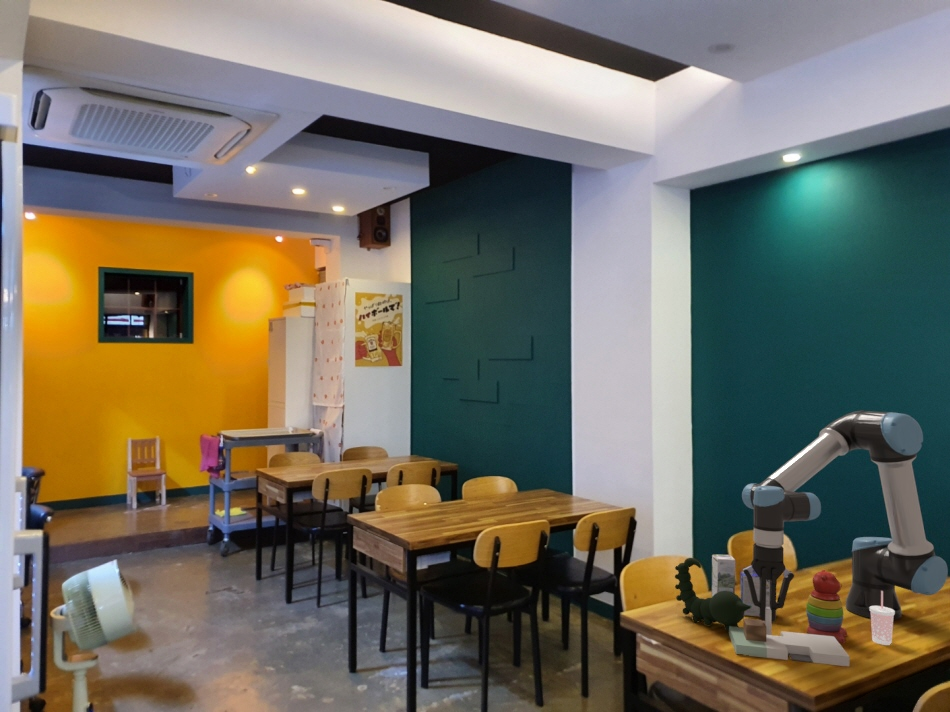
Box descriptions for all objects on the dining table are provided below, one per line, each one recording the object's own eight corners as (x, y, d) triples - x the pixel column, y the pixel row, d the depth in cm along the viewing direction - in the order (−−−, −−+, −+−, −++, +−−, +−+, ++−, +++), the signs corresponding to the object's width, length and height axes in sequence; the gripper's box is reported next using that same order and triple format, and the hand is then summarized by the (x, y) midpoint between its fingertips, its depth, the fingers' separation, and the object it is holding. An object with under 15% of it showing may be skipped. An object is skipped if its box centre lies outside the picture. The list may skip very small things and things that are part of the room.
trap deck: (833, 645, 188) (833, 636, 188) (849, 666, 174) (849, 656, 174) (729, 635, 194) (729, 626, 194) (736, 654, 180) (736, 644, 180)
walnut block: (762, 635, 188) (762, 620, 188) (766, 641, 183) (766, 626, 183) (743, 633, 189) (743, 618, 189) (746, 639, 184) (746, 624, 184)
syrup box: (728, 598, 226) (729, 554, 227) (735, 604, 221) (735, 558, 221) (711, 598, 227) (711, 553, 227) (717, 604, 221) (717, 558, 221)
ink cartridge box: (773, 612, 213) (773, 565, 214) (777, 618, 208) (777, 570, 208) (739, 609, 215) (739, 563, 216) (742, 615, 210) (743, 568, 210)
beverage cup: (888, 647, 187) (888, 595, 187) (865, 640, 192) (865, 589, 192) (898, 643, 191) (898, 592, 191) (875, 636, 196) (875, 586, 196)
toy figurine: (670, 621, 209) (741, 641, 188) (667, 557, 211) (736, 570, 190) (691, 616, 214) (762, 635, 193) (688, 553, 216) (758, 565, 195)
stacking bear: (844, 645, 188) (845, 579, 189) (803, 637, 194) (804, 573, 194) (847, 633, 197) (848, 570, 198) (808, 625, 203) (809, 564, 203)
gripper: (791, 543, 188) (790, 630, 187) (740, 539, 191) (739, 625, 190) (797, 549, 181) (796, 640, 180) (744, 545, 184) (743, 635, 183)
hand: (767, 632), depth 185 cm, fingers closed
